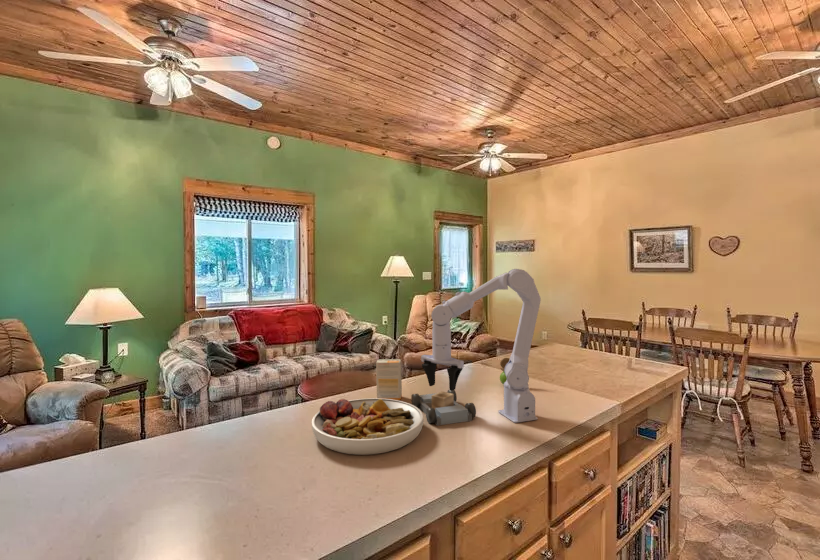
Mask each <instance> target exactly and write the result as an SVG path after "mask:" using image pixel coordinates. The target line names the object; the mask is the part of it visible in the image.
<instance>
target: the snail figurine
mask: <svg viewBox="0 0 820 560" xmlns="http://www.w3.org/2000/svg"><path fill="white" fill-rule="evenodd" d="M509 360H510V357H504V358H501V360H500V361H499V365H500V371H501V373H500V375H499V380H500V383H501V384H503V385H504V383H505V382H506V380H507V377H506V375H505V372H504V368H505V366H506V364H507V363H508V362H509Z"/></svg>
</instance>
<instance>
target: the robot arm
mask: <svg viewBox="0 0 820 560" xmlns="http://www.w3.org/2000/svg"><path fill="white" fill-rule="evenodd" d="M509 288H510V289H512V290H513V291H515V293H516V294H517V295H518V297H519V298H520V300H522V306H521V311H520V315H519V319H518V325H517V329H516V333H515V338H514V343H513V348H512V351H511V354H510V356H509V359H510V360H509V362H508V363H507V364H506V366H505V368H504V372H505V375H506V377H507V380H506V382H505V383H504V384H503V409H499V410H497V412H498V413H499V414H501V415H502V416H504V417H505V418H506V419H508V420H510V421H511V422H513V423H522V422H529V421H536V420H538V419H539V418H538V417H537V416H536V398H535V397H536V396H535V395H534V394H533V393H532V392H531V390H530V386H529V385H530V384H529V380H530V377H529V373H528V370H529V369H528V368H529V356H530V351H531V347H532V342H533V337H534V333H535V327H536V324H537V319H538V314H539V311H540V310H539V309H540V305H541V301H542V299H541V296H540V293H539V291H538V288H537V286H536V283H535V280H534V278H533V277H532V276H531V274H529V272H528V271H526V270H524V269H520V268H514V269H513V268H512V269H511V270H509V271H508V272H504V273H500V274H499V275H496V276H494V277H493V278H491V279H489V280H488V281H486V282H485V283H483V284H481V285H480V286H478V287H477V288H475V289H474V290H472V291H470V292H467V291H461V292H460V291H457V292H455V295H454V296H453V297H451V298H449V299H447V300H445V299H444V300H443V301H442V302H441V303H442V304H438V305H436V306H435V307H433V310H432V312H431V320H432V324H431V325H432V330H431V331H432V333H431V336H432V337H431V340H432V343H431V344H432V354H431V355H430V354H423V355H421V356H420V360H421V362H422V363H421V367H422V369H423V371H424V373H425V376H426V378H427V381H428V385H429V387H433V386H434V385H435V384H436V370H437V365H444V366H448V368H446V370H447V374H448V383H449V384H448V385H449V386H448V387H449V388H448V389H449V390H450V391H453V390H455V391H456V387H457V384H458V383H457V382H458V379H459V376H460V375H461V372H462V371H463V368H464V367H465V365H464V363H465V362H464V360H461V359H457V358H454V357H452V330H451V318H455V319H456V318H457V317H459V316H460V315H462V314H464V313H465V312H467V311H469V310H472V309H473V308H474V303H475V302H476V301H478V300H480V299H482V298H484V297H486V296H488V295H490V294H492V293H494V292H495V291H498V290H503V291H504V290H509Z"/></svg>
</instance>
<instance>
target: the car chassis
mask: <svg viewBox="0 0 820 560" xmlns="http://www.w3.org/2000/svg"><path fill="white" fill-rule="evenodd" d="M446 392H447V393H452V394H454V406H447V407H440V408H435V409H434V408H432V395H434V394H437V393H438V392H435V393H427V394H420V395H419V393H413V394H411V395H410V397H411V398H410V399H411V404H412V405H414V406H416V407H417V408H419V409H420V410H421V412H422V413H423V414H425V419H426V422H427V423H428V424H435V425H436V426H437V427H438V426H442V425H443V426H444V425H450V424H458V423H465V422H472V421H473V418H475V417H476V415H477V410H476V409H477V407H476V406H475V403H473V402H466V403H465V405H463V404H460V403H459V402H457V397H458V396H457V393H456V389H455V390H453V391H450V389H448V390H447V391H446Z"/></svg>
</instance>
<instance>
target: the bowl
mask: <svg viewBox="0 0 820 560" xmlns="http://www.w3.org/2000/svg"><path fill="white" fill-rule="evenodd" d="M423 425H424V412H423V411H422V410H421V409H420V408H419V407H416V406H414V405H412V403H410V402H406V401H403V400H393V399H383V398H377V397H375V398H373V397H371V398H357V399H350V400H348V399H345V398H343V399H342V398H341V399H339V400H338V401H336V402H335V401H332V400H328V401H325V402H324V403H323V404H322V405H321V406H320V407H319V411H317V412H316V413H315V415H313V417H312V419H311V430H312V433H313V435H314V437H315V439H316V441H317V442H319V443H320V444H321V445H322V446H324V447H325V448H327V449H329V450H332V451H335V452H338V453H341V454H349V455H356V456H357V455H359V456H360V455H363V456H364V455H365V456H366V455H367V456H368V455H378V454H384V453H388V452H392V451H395V450H398V449H401V448H402V447H405V446H407V445H409V444H411V442H413V441H414V440H415V439H416V438H417V437H418V436H419V434H420V433H421V431H422V429H423Z"/></svg>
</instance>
